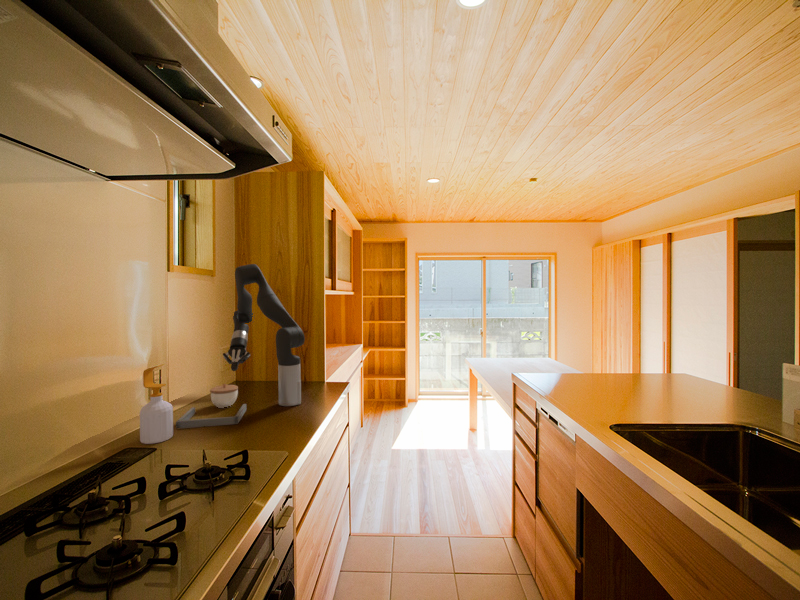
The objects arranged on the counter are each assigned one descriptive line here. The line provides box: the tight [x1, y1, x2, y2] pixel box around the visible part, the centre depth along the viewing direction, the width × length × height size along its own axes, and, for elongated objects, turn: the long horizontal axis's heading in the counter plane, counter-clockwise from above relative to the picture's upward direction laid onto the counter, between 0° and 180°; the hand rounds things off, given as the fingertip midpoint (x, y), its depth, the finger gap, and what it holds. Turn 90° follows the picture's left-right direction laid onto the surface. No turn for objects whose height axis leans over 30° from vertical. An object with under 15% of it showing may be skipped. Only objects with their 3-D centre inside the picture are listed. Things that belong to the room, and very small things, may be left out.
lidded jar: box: [209, 383, 239, 409], centre depth 155 cm, size 11×11×9 cm
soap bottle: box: [139, 363, 174, 445], centre depth 119 cm, size 9×9×25 cm
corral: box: [175, 403, 247, 430], centre depth 139 cm, size 20×17×2 cm
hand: (234, 370), depth 172 cm, fingers closed
